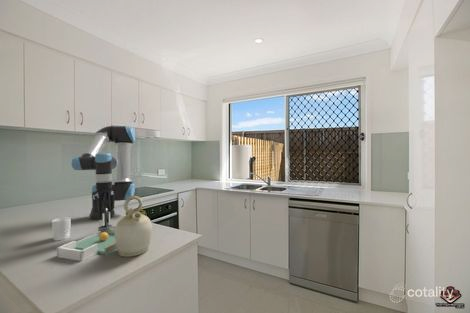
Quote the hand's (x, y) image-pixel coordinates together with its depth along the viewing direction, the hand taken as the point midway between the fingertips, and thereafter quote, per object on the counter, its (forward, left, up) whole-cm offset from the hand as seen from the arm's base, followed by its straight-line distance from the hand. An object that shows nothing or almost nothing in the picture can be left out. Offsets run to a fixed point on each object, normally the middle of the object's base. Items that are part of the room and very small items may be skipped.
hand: (104, 224), depth 117 cm
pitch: (+7, +9, -6) cm, 13 cm away
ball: (+9, +9, -2) cm, 13 cm away
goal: (+22, +9, -6) cm, 24 cm away
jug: (+12, +30, -6) cm, 33 cm away
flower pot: (-15, +7, -6) cm, 18 cm away
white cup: (+10, -18, -6) cm, 21 cm away
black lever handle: (0, +5, -4) cm, 6 cm away
